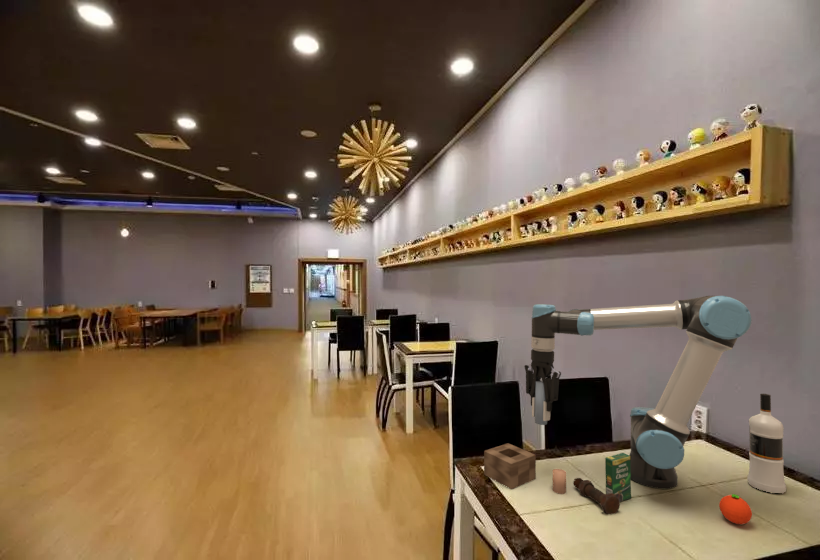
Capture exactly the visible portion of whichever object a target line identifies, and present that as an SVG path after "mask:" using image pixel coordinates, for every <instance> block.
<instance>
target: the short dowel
mask: <svg viewBox="0 0 820 560" xmlns="http://www.w3.org/2000/svg"><path fill="white" fill-rule="evenodd" d="M552 492H554V493H556V494H557V495H558V494H559V495H565V494H566V493H567V471H566V470H564V469H562V468H554V469H552Z"/></svg>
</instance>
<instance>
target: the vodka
mask: <svg viewBox="0 0 820 560" xmlns="http://www.w3.org/2000/svg"><path fill="white" fill-rule="evenodd" d="M759 396H760V397H759V400H760V403H759V404H760V405H759V407H760V410H759V412H760V413H758V414H755V415H753V416H751V417H750V418H749V419H748V424H749V426H748V427H749V430H748V431H749V433H748V434H749V439H748V441H749V452H748V454H749V469H748V474H747V478H746V479H747V480H746V481H747V482H748V484H749V485H750V486H751V487H753V488H754V489H756V488H757V489H756V490H758V489H759V490H758V491H760V490H763V491H766V492H765V493H767V492H772V493H782V494H785V493H786V491H787V484H786V482H785V475H784V473H785V471H784V463H785V460H784V440H783V439H784V430H785V429H784V425H783V423H782V422H781V421H780V420H779V419H778V418H776V417H774V416H773V415H772V402H771V401H772V398H771V397H772V395H771V394H769V393H760V395H759ZM763 491H762V492H763ZM784 492H785V493H784ZM772 493H771V494H772Z"/></svg>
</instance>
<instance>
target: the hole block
mask: <svg viewBox="0 0 820 560" xmlns="http://www.w3.org/2000/svg"><path fill="white" fill-rule="evenodd" d="M536 455H537V454H534V453H532V452H530V451H527V450H525V449H523V448H520V447H518V446H516V445H515V444H514V445H513V444H511V443H509V442H508V443H504V444H502V445H499V446H495V447H492V448H489V449H485V450H483V475H484V476H486V477H488V478H490V479H491V478H492V479H491V480H493V481H495V480H496V481H495V482H497V483H499V484H501V485H502V484H503V486H504V485H505V486H504V487H506V486H507V487H506V488H508V487H509V488H508V489H510V490H514V489H515V488H518V487H520V486H523V485H525V484H528V483H530V482H532V481H535V480H536V479H537V476H536V475H537V472H536V471H537V468H536V467H537V464H536V463H537V459H536V458H537V456H536Z"/></svg>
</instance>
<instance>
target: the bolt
mask: <svg viewBox="0 0 820 560" xmlns="http://www.w3.org/2000/svg"><path fill="white" fill-rule="evenodd" d="M572 481H573V482H572V483H573V486H574V488H576V489H577V490H578V491H579V493H580V495H582V496H583V497H586V498H590V499H592V500H593V501H595V502H596V503H598V504H599V505H600V507H601V509H602V511H603V512H604V513H605V514H606V513H607V515H615V514H617V512H618V511H619V510H620V505H621V503H620V502H619V500H618V498H617V497H616V495H615V494H613V493H610V494H606V493H604V492H602V491H601V490H599V489H598V488H596V487H595V486H594V483H593V482H592V481H591V480H589V479H582V478H580V477H576V478H574V480H572Z"/></svg>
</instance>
